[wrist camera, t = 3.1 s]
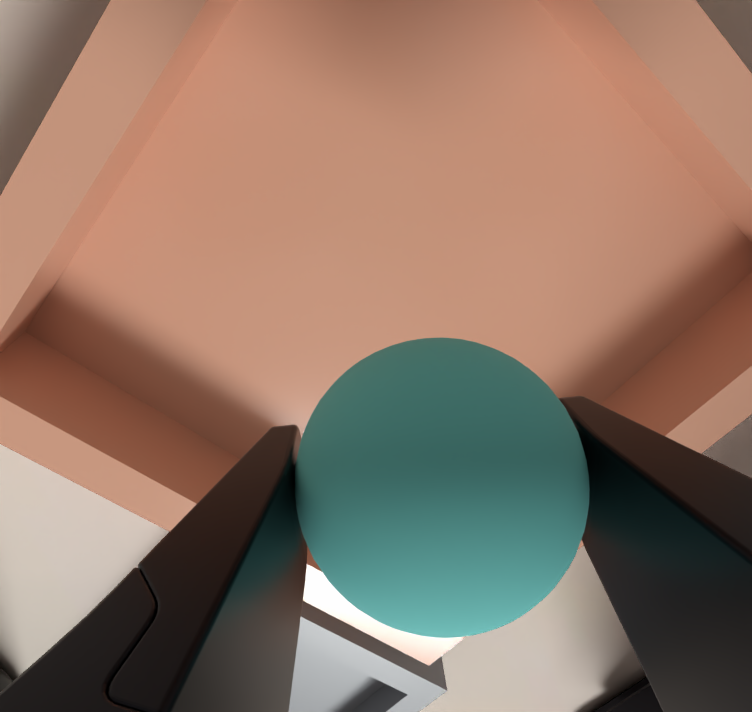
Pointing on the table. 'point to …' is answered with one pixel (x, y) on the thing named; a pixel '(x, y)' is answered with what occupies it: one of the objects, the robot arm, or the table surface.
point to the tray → (356, 671)
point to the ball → (441, 487)
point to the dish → (369, 227)
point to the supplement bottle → (4, 680)
